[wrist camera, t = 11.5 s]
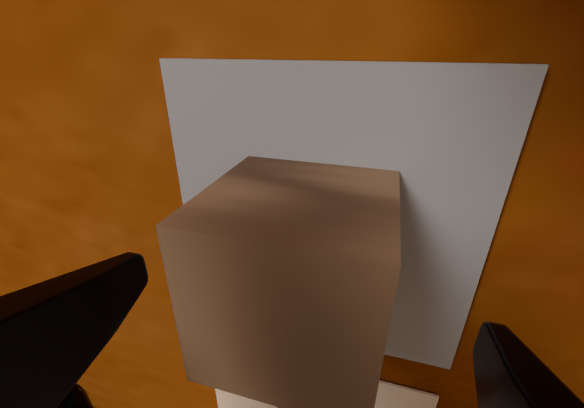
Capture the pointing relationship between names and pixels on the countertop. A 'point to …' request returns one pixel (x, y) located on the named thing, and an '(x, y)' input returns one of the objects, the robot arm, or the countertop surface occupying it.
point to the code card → (389, 401)
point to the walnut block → (286, 281)
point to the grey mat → (375, 157)
